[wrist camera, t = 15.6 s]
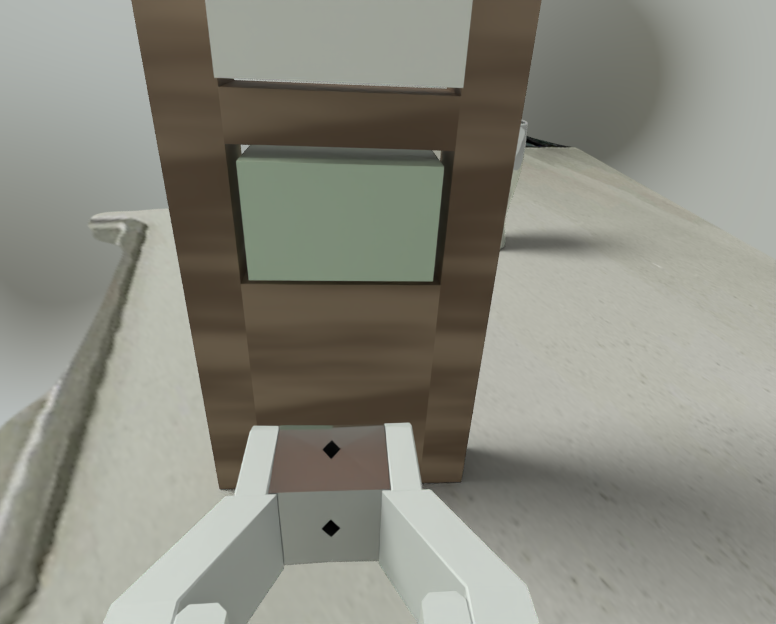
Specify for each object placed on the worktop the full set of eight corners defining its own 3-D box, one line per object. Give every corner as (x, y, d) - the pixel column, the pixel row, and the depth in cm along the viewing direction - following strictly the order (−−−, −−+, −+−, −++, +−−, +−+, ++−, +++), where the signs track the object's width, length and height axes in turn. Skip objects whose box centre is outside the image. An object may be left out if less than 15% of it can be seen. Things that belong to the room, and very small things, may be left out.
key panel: (461, 481, 29) (653, -674, 11) (219, 488, 28) (-13, -797, 10) (451, 445, 32) (594, -539, 14) (230, 450, 31) (62, -623, 12)
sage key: (432, 281, 22) (444, 166, 19) (248, 280, 21) (236, 161, 19) (420, 247, 25) (429, 146, 23) (262, 245, 25) (253, 141, 22)
